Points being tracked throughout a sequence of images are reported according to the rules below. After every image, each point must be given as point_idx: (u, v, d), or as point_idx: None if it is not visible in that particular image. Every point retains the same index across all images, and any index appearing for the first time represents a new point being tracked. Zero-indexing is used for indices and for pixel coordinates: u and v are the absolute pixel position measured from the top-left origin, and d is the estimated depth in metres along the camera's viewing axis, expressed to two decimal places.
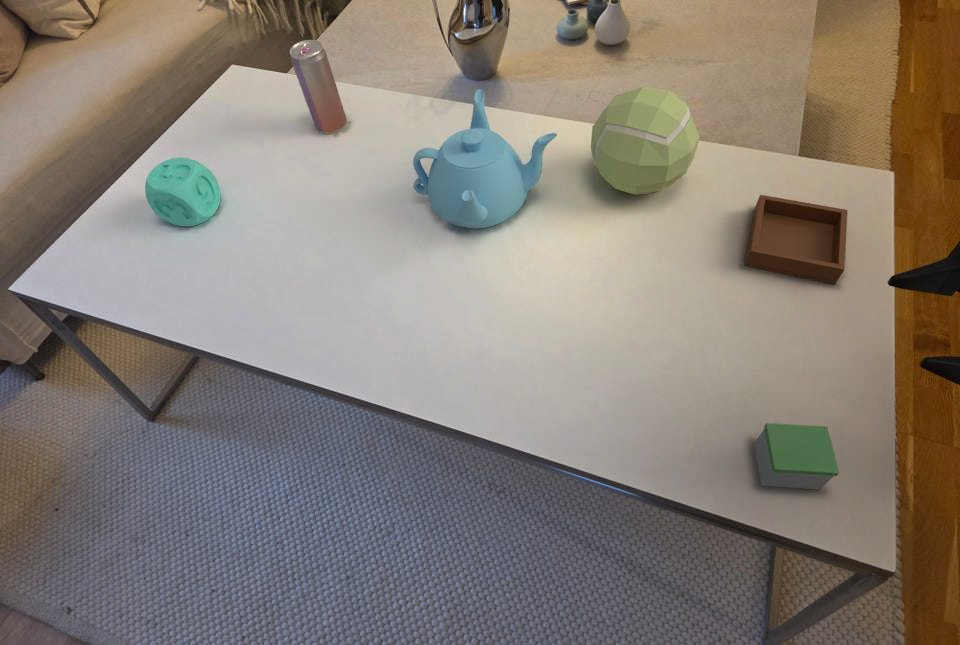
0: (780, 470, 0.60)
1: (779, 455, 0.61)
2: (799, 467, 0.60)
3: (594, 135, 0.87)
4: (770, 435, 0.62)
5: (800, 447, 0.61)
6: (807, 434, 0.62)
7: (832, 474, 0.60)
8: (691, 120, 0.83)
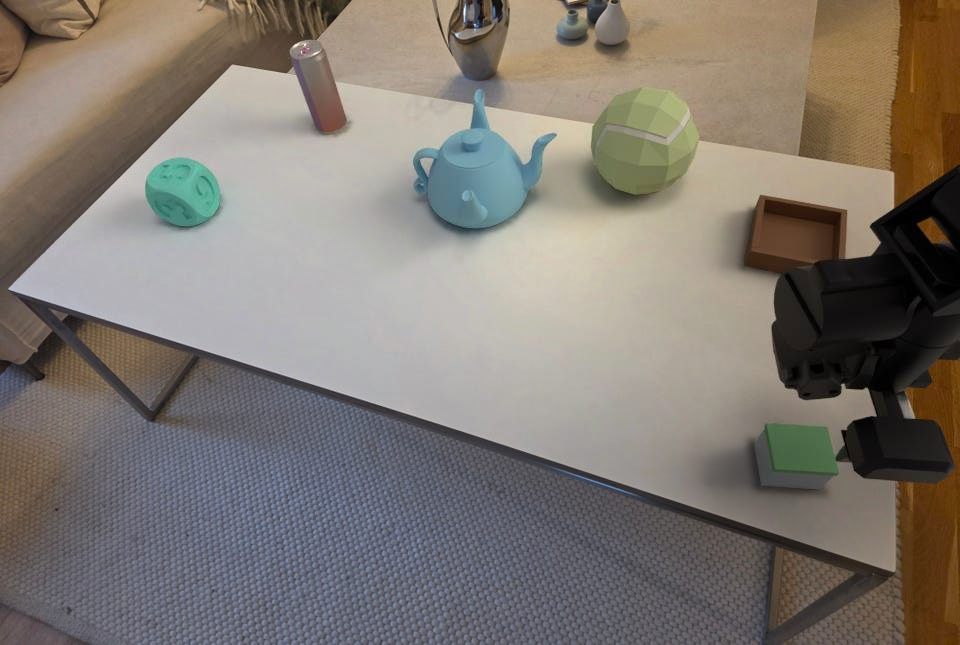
0: (780, 470, 0.60)
1: (779, 455, 0.61)
2: (799, 467, 0.60)
3: (594, 135, 0.87)
4: (770, 435, 0.62)
5: (800, 447, 0.61)
6: (807, 434, 0.62)
7: (832, 474, 0.60)
8: (691, 120, 0.83)
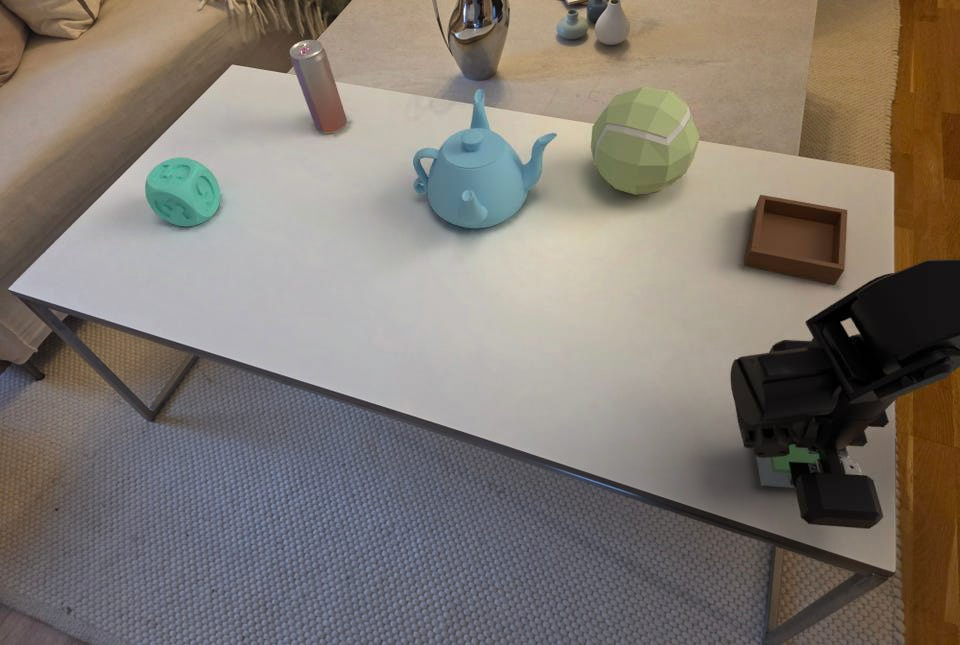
0: (780, 470, 0.60)
1: None
2: None
3: (594, 135, 0.87)
4: None
5: None
6: None
7: None
8: (691, 120, 0.83)
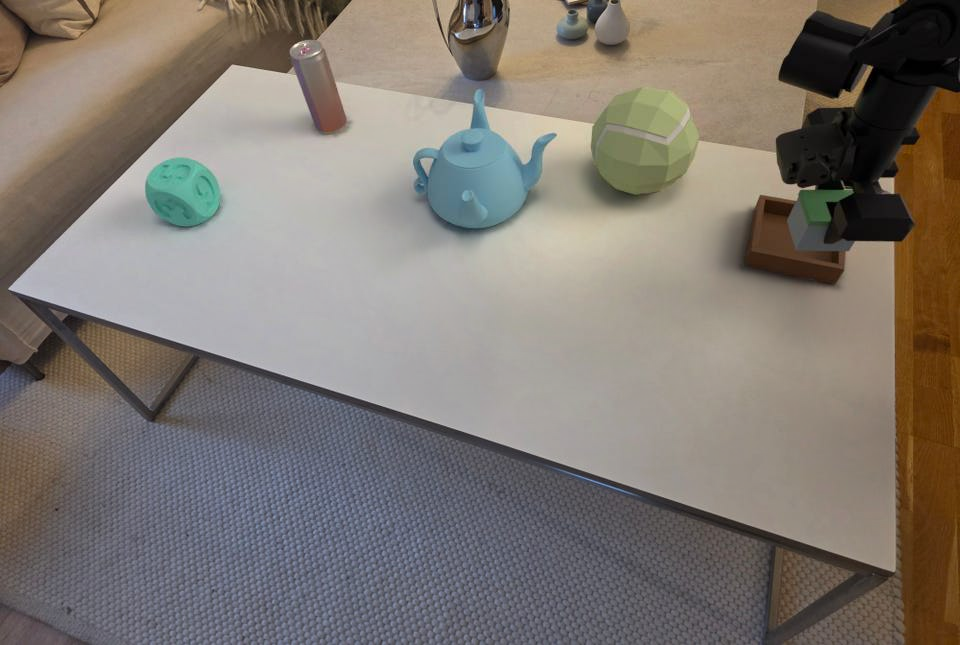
0: (815, 222, 0.66)
1: (813, 211, 0.67)
2: None
3: (594, 135, 0.87)
4: (804, 198, 0.68)
5: None
6: (838, 195, 0.68)
7: None
8: (691, 120, 0.83)
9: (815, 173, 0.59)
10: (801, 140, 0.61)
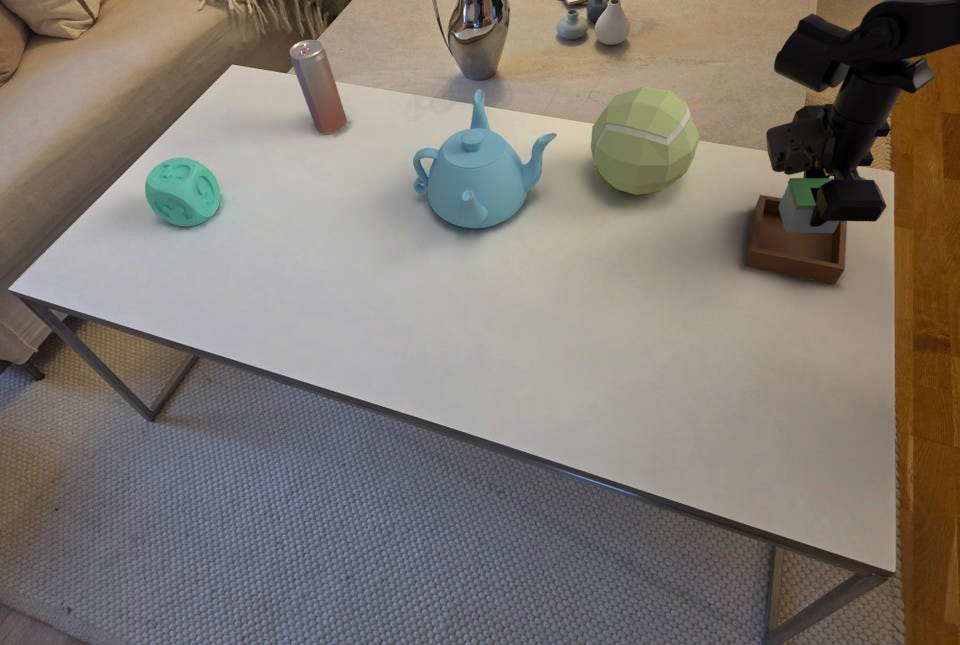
0: (802, 206, 0.74)
1: (801, 197, 0.75)
2: None
3: (594, 135, 0.87)
4: (793, 185, 0.76)
5: None
6: (823, 183, 0.76)
7: None
8: (691, 120, 0.83)
9: (799, 161, 0.67)
10: (788, 132, 0.70)
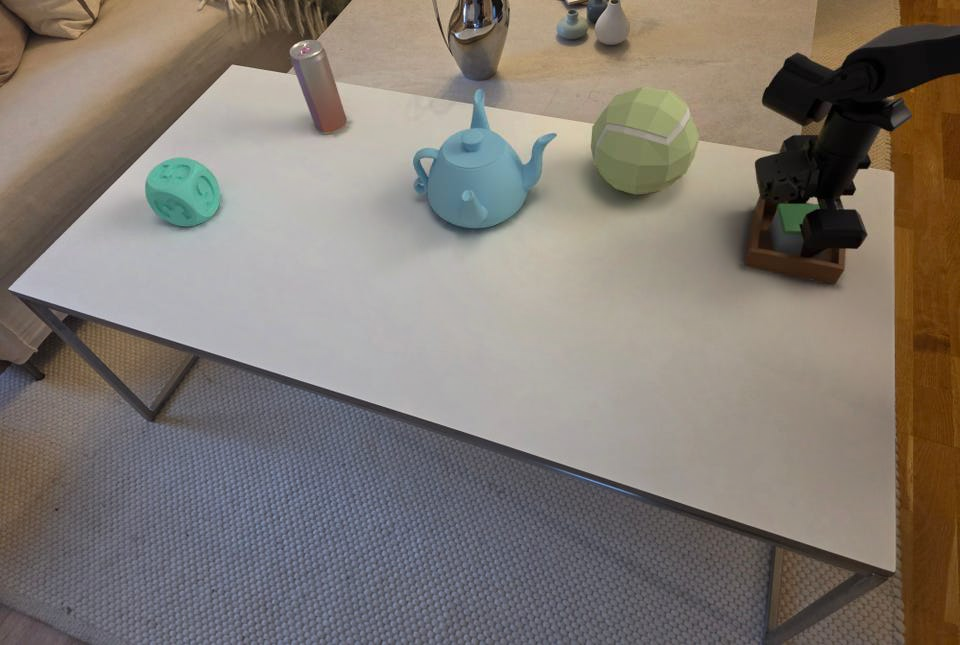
0: (789, 232, 0.78)
1: (789, 222, 0.79)
2: None
3: (594, 135, 0.87)
4: (781, 210, 0.80)
5: None
6: (810, 209, 0.80)
7: None
8: (691, 120, 0.83)
9: (785, 191, 0.71)
10: (775, 163, 0.73)
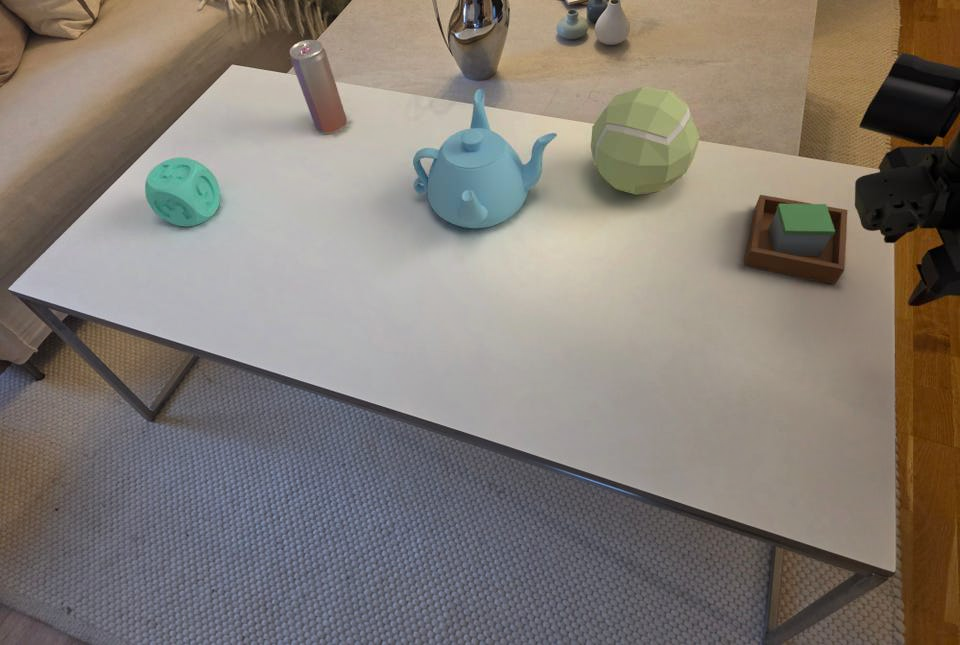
0: (789, 232, 0.78)
1: (789, 222, 0.79)
2: (804, 229, 0.78)
3: (594, 135, 0.87)
4: (781, 210, 0.80)
5: (805, 217, 0.79)
6: (810, 209, 0.80)
7: (829, 233, 0.77)
8: (691, 120, 0.83)
9: (902, 221, 0.54)
10: (884, 183, 0.57)
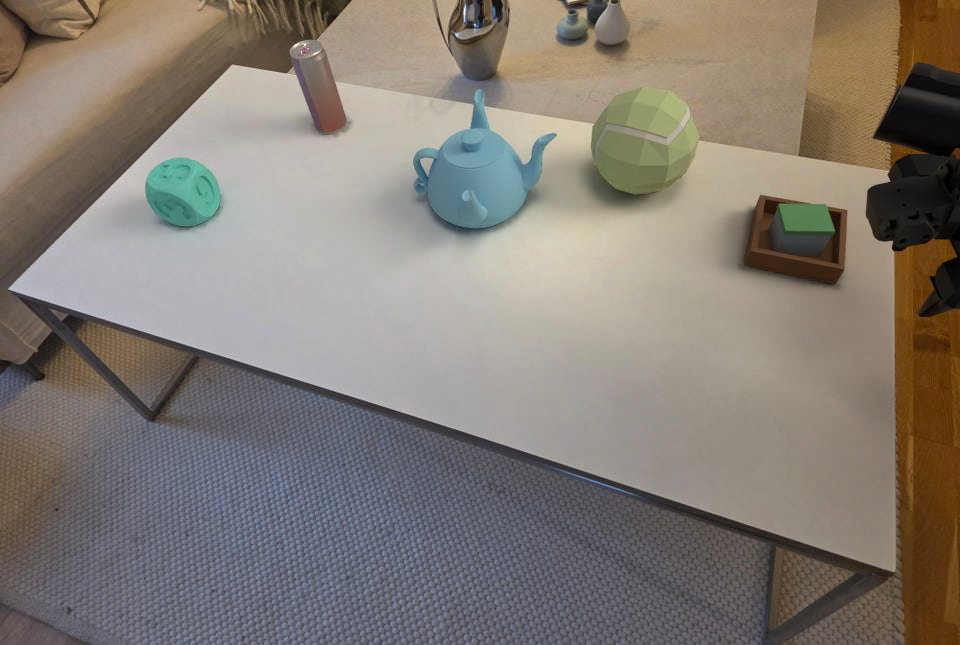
0: (789, 232, 0.78)
1: (789, 222, 0.79)
2: (804, 229, 0.78)
3: (594, 135, 0.87)
4: (781, 210, 0.80)
5: (805, 217, 0.79)
6: (810, 209, 0.80)
7: (829, 233, 0.77)
8: (691, 120, 0.83)
9: (917, 233, 0.53)
10: (898, 193, 0.55)
